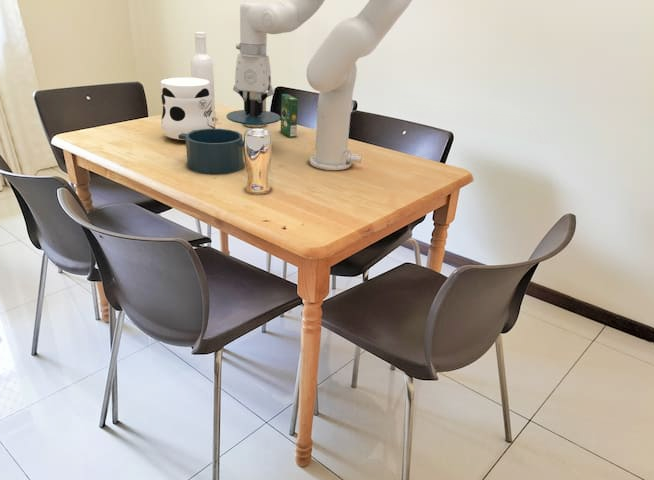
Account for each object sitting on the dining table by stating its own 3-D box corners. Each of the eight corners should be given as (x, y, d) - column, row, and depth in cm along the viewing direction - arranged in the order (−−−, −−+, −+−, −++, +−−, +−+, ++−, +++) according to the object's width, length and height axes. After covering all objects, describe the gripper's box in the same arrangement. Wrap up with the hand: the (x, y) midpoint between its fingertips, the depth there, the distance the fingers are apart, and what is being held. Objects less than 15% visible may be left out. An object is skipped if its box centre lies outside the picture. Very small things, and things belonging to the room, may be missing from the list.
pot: (194, 153, 155) (192, 125, 151) (259, 161, 151) (258, 133, 147) (169, 168, 142) (166, 138, 138) (239, 178, 138) (239, 147, 134)
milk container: (226, 140, 169) (223, 84, 160) (178, 148, 158) (173, 88, 149) (199, 128, 180) (195, 75, 171) (153, 135, 169) (147, 79, 160)
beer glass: (272, 185, 135) (272, 128, 127) (271, 195, 129) (271, 136, 121) (245, 184, 134) (244, 127, 127) (243, 194, 128) (242, 135, 121)
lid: (238, 111, 166) (238, 91, 163) (287, 116, 163) (287, 97, 160) (217, 122, 152) (217, 101, 149) (270, 129, 149) (270, 108, 146)
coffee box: (297, 137, 176) (298, 98, 170) (289, 138, 175) (290, 98, 168) (287, 131, 182) (288, 93, 176) (280, 132, 181) (280, 93, 175)
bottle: (218, 117, 194) (214, 31, 179) (212, 122, 188) (207, 33, 173) (198, 116, 195) (192, 30, 180) (191, 121, 188) (184, 32, 173)
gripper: (222, 48, 146) (224, 114, 155) (276, 54, 143) (274, 120, 152) (232, 46, 152) (233, 109, 161) (284, 51, 149) (282, 114, 158)
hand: (253, 113), depth 156 cm, fingers closed on lid, 2 cm apart
